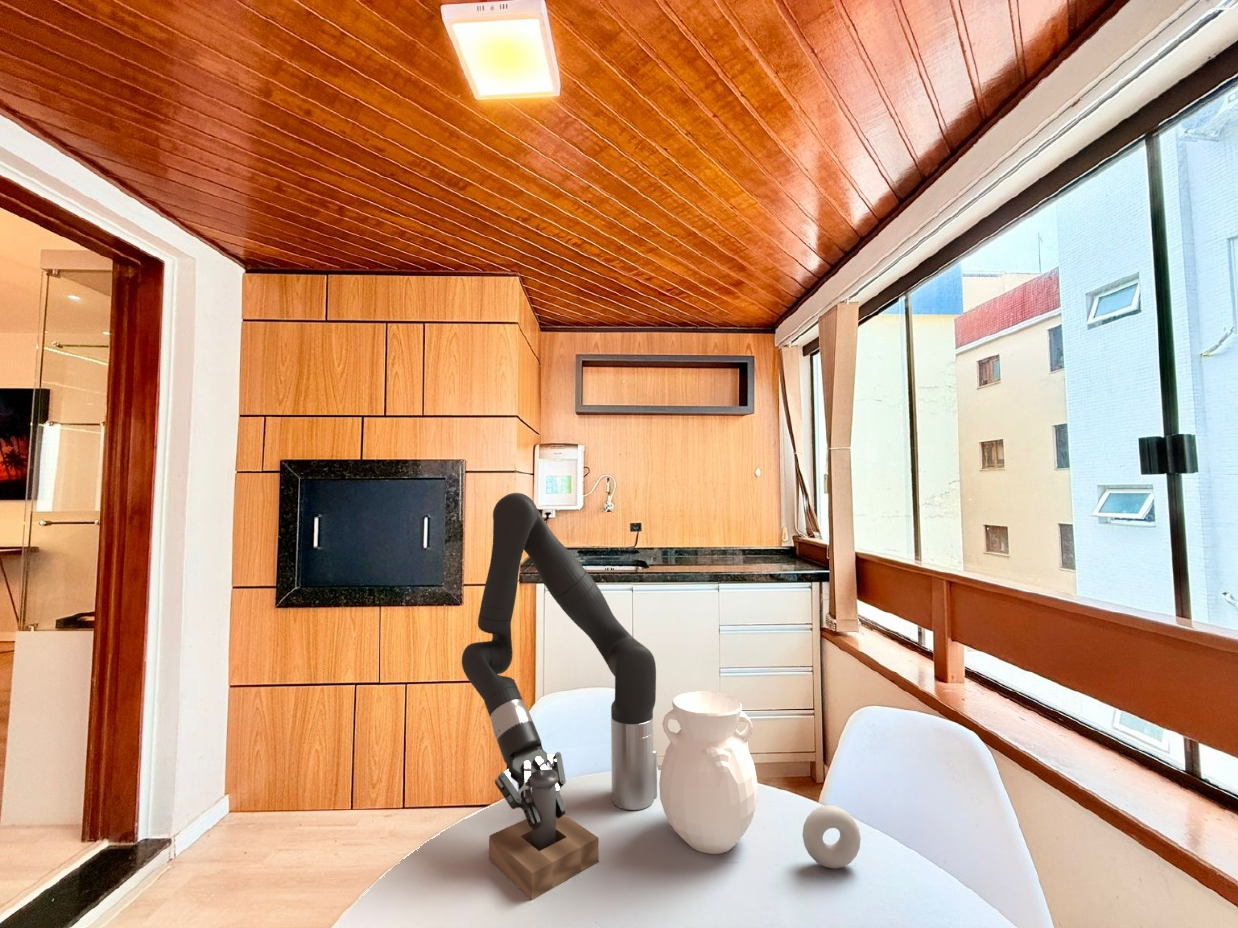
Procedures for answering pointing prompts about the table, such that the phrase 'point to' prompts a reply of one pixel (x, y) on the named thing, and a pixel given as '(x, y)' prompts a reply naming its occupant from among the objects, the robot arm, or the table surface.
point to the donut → (838, 851)
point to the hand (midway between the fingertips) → (549, 820)
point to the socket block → (543, 855)
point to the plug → (544, 807)
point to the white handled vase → (708, 772)
